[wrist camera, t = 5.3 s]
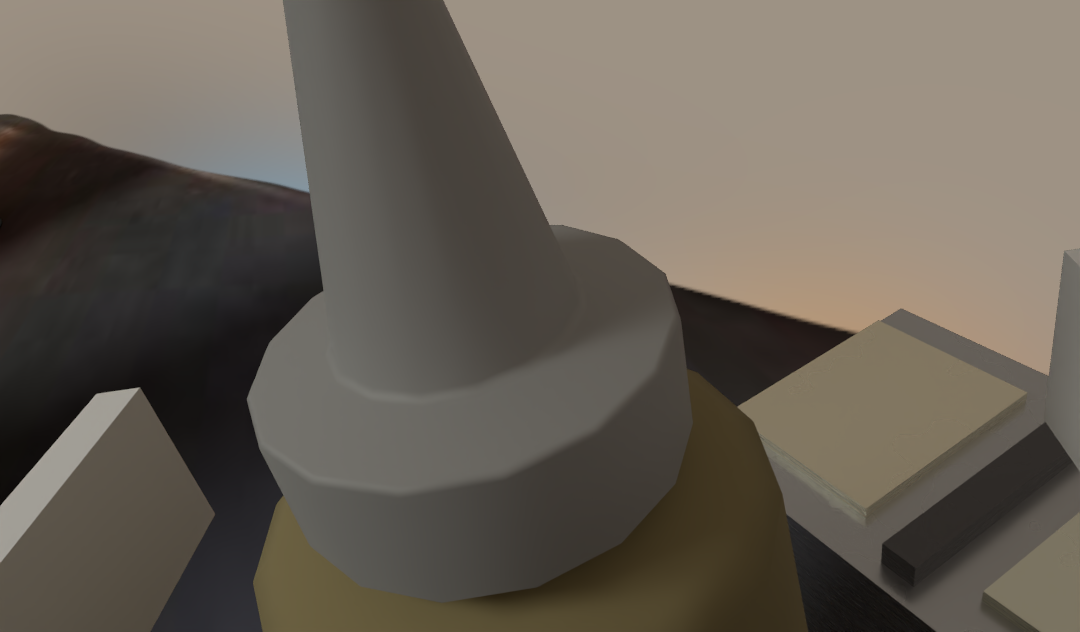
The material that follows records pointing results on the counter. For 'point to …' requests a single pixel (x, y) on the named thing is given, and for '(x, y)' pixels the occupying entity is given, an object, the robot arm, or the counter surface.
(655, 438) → the squeeze bottle
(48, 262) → the counter surface
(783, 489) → the grey box with panels
